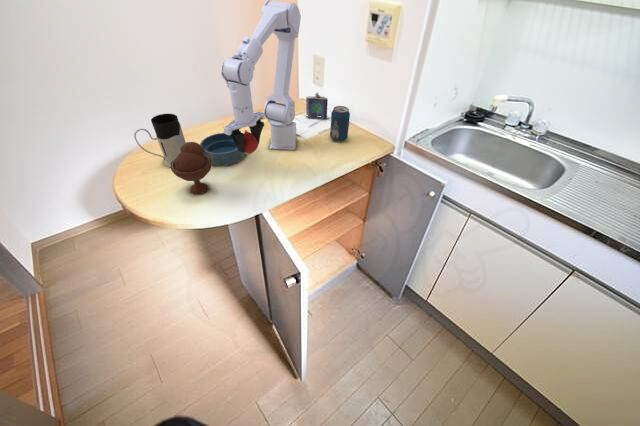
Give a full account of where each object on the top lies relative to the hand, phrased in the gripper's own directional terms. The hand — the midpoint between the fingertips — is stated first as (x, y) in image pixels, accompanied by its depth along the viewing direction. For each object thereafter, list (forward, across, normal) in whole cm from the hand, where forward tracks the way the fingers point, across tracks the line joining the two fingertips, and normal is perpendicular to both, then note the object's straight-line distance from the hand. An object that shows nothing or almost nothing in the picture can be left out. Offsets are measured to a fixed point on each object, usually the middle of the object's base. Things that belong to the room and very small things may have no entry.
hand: (248, 147), depth 92 cm
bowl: (+8, 0, +13) cm, 15 cm away
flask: (+8, +46, +7) cm, 47 cm away
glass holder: (+8, -15, +24) cm, 29 cm away
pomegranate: (+2, 0, 0) cm, 2 cm away
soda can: (+8, +36, -11) cm, 39 cm away
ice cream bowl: (+8, -18, +4) cm, 20 cm away
